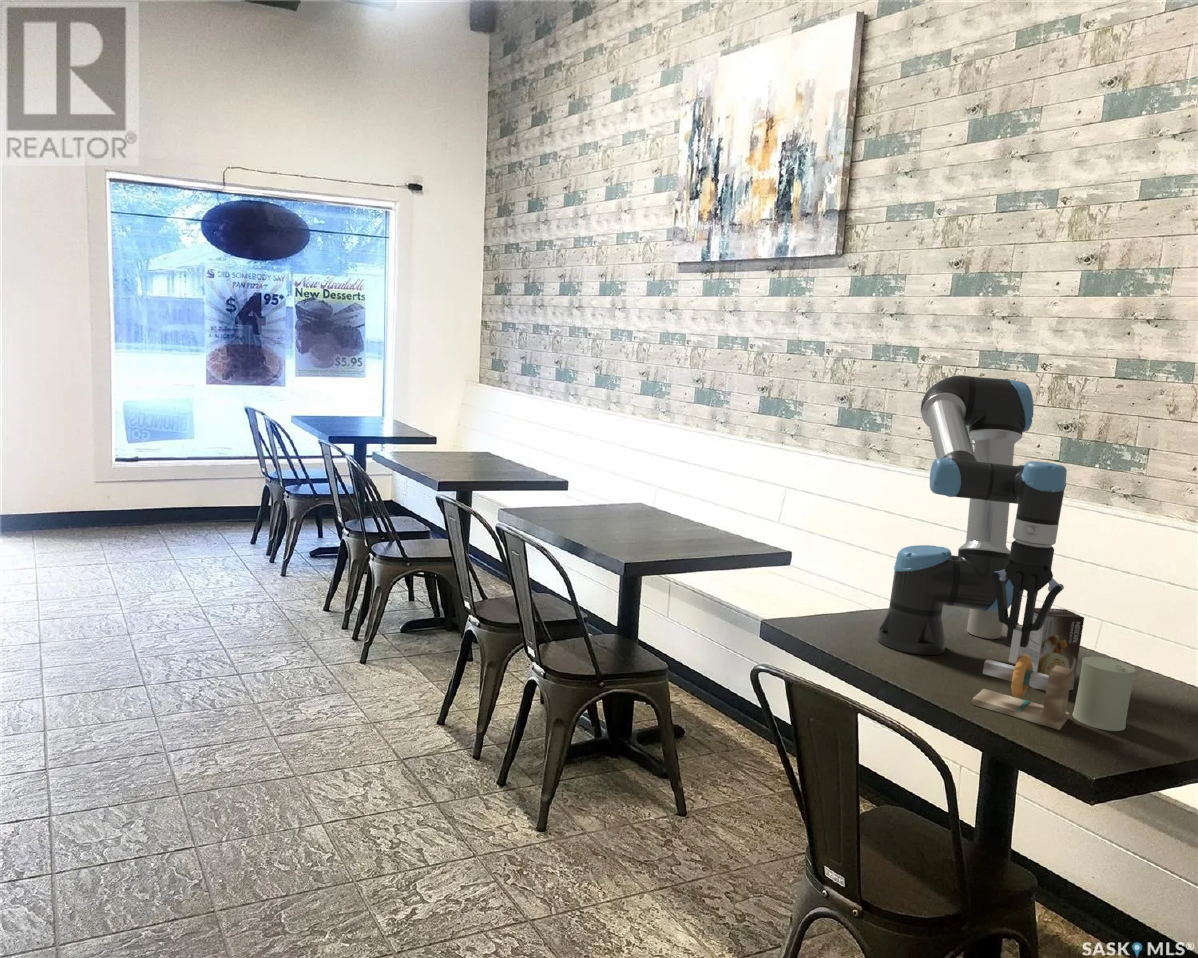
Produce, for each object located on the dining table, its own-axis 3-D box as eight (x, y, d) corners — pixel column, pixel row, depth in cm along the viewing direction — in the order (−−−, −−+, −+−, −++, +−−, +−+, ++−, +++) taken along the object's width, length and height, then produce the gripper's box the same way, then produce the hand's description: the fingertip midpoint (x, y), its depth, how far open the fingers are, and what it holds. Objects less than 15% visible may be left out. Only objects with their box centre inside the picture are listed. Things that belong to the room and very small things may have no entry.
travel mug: (1005, 636, 237) (1017, 566, 234) (992, 641, 231) (1004, 570, 229) (974, 627, 243) (985, 559, 240) (961, 632, 237) (972, 562, 234)
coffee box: (1054, 679, 207) (1066, 608, 204) (1073, 690, 201) (1086, 617, 198) (1016, 678, 205) (1028, 606, 203) (1034, 689, 199) (1046, 615, 197)
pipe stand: (971, 704, 187) (979, 655, 185) (982, 694, 193) (990, 646, 192) (1059, 729, 177) (1068, 678, 176) (1068, 718, 184) (1076, 668, 182)
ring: (1007, 699, 183) (1014, 659, 181) (1018, 689, 189) (1024, 650, 188) (1018, 702, 181) (1025, 662, 180) (1028, 692, 188) (1035, 653, 187)
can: (1102, 733, 178) (1113, 671, 176) (1061, 713, 186) (1071, 655, 184) (1136, 729, 182) (1147, 668, 180) (1094, 710, 190) (1104, 652, 188)
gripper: (992, 538, 183) (974, 656, 186) (1066, 552, 175) (1045, 675, 178) (1002, 534, 189) (984, 648, 192) (1074, 547, 181) (1054, 666, 184)
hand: (1014, 661), depth 185 cm, fingers closed
